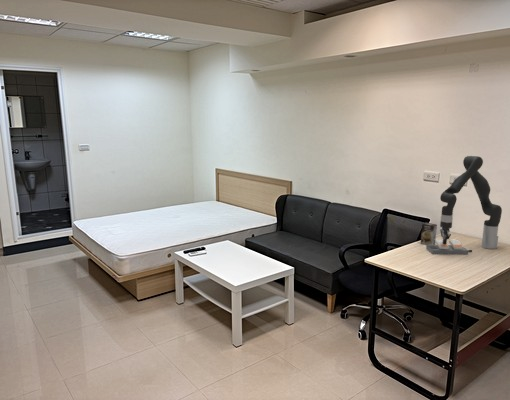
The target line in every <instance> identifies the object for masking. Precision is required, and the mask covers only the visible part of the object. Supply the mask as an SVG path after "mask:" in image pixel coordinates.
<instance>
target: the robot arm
mask: <svg viewBox="0 0 510 400" xmlns="http://www.w3.org/2000/svg"><path fill="white" fill-rule="evenodd" d="M462 161H463V162H462V163H463V164H462V165H463V167H464V169H465V171H464V172H462V174H460V175H458V177H456V178H455V179H454V180H453V182H452V183H451V184H450V186H449V187H447V189H445V190H444V191H443V192H441V194H440V198H439V199H440V201H441V202H442V203H446V204H447V205H444V206H442V208H441V216H440V222H439V223H440V224H439V226H440V230H439V232H440V236H441V238H442V240H443V244H447V245H448V243H447V242H448V240H449V239H450V238H451V236H452V234H451V233H450V232H451V231H450V229H452V227H453V216H454V213H453V212H454V208H455V205H456V203H457V196H456V194H459V193H460V191H462V189H463V187H464V186H465V185H466V184H467V182H468V181H469V180H471V182H472V184H473V187H474V189H475V192H476V194H477V197H478V199H479V202H480V206H481V209H482V212H483V214H484V215H486V216H488V217H489V219H486V220H484V221H483V231H482V239H481V247H482V248H484V249H488V250H495V249H497V248H498V242H499V235H498V233H499V232H498V231H499V224H500V222H501V218H502V212H503V209H502V206H501V205H498V204H495V203H493V202H491V199H490V194H491V186H490V183H489V181H488V180H487V178H486V177H485V176H483V175H482V174H481V173H480V172H479V170H480V168H482V166H483V164H484V160H483V158H482V156H477V155H467V156H465V157H464V159H463V160H462Z"/></svg>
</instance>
